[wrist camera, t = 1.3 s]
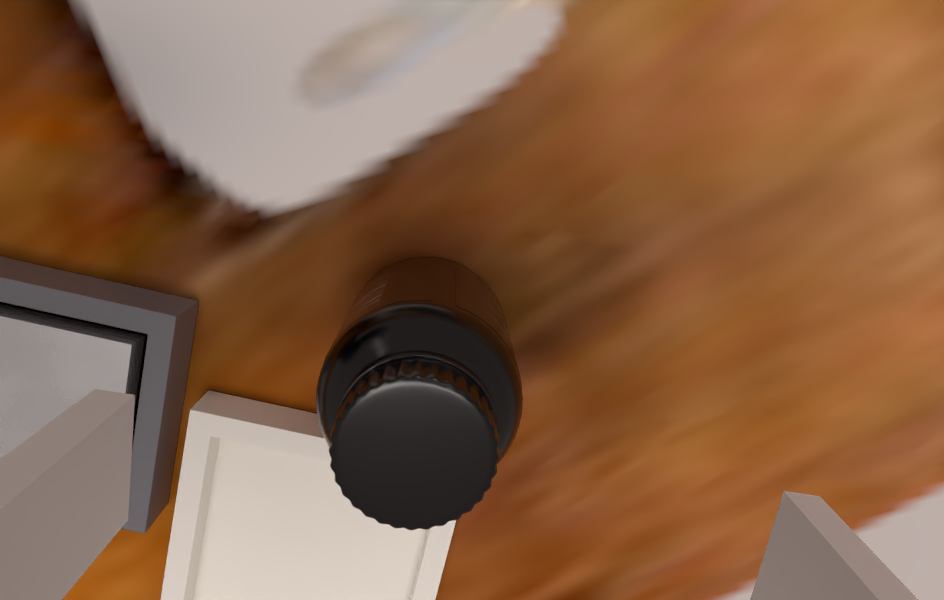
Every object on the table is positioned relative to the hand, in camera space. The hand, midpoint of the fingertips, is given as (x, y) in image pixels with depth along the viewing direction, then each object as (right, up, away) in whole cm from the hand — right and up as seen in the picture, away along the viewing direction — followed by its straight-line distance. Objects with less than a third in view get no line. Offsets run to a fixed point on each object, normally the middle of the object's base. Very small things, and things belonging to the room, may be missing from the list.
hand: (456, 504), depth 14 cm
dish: (-7, -7, +19) cm, 22 cm away
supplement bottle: (-2, +3, +17) cm, 17 cm away
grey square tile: (-18, 0, +15) cm, 23 cm away
